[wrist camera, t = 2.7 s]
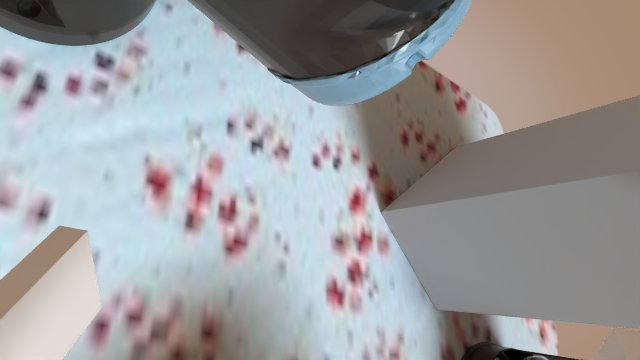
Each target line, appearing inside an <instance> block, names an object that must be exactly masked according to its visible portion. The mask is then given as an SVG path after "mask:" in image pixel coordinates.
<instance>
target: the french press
mask: <svg viewBox="0 0 640 360" xmlns="http://www.w3.org/2000/svg"><path fill="white" fill-rule="evenodd" d="M495 358H497V359H498V360H579V359H572V358H566V357H560V356H554V355H547V354H541V353H535V352H529V351H522V350H517V349H513V348H507V347H501V346H497V345H495V344H493V343H489V342H481V343H478V344H476V345H474V346H472V347H471V348H470V349H469V350H468V351H467V352H466V353H465V355H464V356H463V358H462V360H494V359H495ZM581 360H582V359H581Z"/></svg>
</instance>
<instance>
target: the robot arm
mask: <svg viewBox="0 0 640 360" xmlns="http://www.w3.org/2000/svg"><path fill="white" fill-rule="evenodd" d="M155 1H156V0H0V27H2V28H5V29H7V30H9V31H11V32H13V33H16V34H18V35H21V36H24V37H27V38H30V39H33V40H37V41H41V42H45V43H51V44H57V45H70V46H80V45H92V44H98V43H102V42H106V41H109V40H112V39H115V38H117V37H120V36H122V35H124V34H126V33H127V32H129V31H130V30H132V29H133V28H135V27H136V26H137V25H138V24H139V23H140V22H142V20H143V19H144V18H145V17H146V16H147V15H148V13H149V12H150V10H151V9H152V7H153V5H154V3H155ZM188 1H189V2H190V3H192V4H193V5H194V6H195V7H196V8H197V9H199V10H200V11H201V12H202V13H203V14H205V15H206V16H207V17H208V18H209V19H210V20H212V21H213V22H214V23H215V24H216V25H217V26H219V27H220V28H221V29H222V30H223V31H225V32H226V33H227V34H228V35H229V36H230V37H232V38H233V39H234V40H235V41H236V42H237V43H239V44H240V45H241V46H242V47H243V48H245V49H246V50H247V51H248V52H249V53H250V54H252V55H253V56H254V57H255V58H256V59H258V60H259V61H260V62H261V63H262V64H263V65H265V66H266V67H267V68H268V71H270V72H271V73H272V74H273V75H274V76H275V77H276V78H278V79H280V80H282V81H283V82H286V83H288V84H291V85H293V86H294V87H295V88H297V89H298V90H299V91H301V92H302V93H303V94H305V95H306V96H307V97H309V98H311V99H312V100H314V101H316V102H318V103H321V104H325V105H330V106H344V105H350V104H355V103H358V102H362V101H365V100H368V99H370V98H373V97H375V96H377V95H379V94H381V93H383V92H385V91H387V90H388V89H390V88H392V87H393V86H395V85H396V84H398V83H399V82H401V81H402V80H404V79H405V78H407V77H408V76H409V75H411V73H412V69H413V67H414V66H415V64H416V63H418V62H420V61H422V60H428V59H430V58H431V57H432V56H433V55H434V54H435V53H436V52H437V51H438V50H439V49H440V48H441V47H442V46H443V45H444V44H445V42H446V41H447V40H448V39H449V38H450V37H451V36H452V34H453V33H454V32H455V30H456V29H457V27H458V26H459V24H460V23H461V22H462V20H463V18H464V16H465V14H466V13H467V11H468V8H469V6H470V3H471V0H188ZM101 308H102V305H101V300H100V295H99V289H98V284H97V279H96V274H95V268H94V263H93V258H92V252H91V247H90V242H89V236H88V231H86V230H80V229H75V228H70V227H64V226H59V227H58V228H56V229H55V230H54V231H53V232H52V233H51V234H50V235H49V236H48V237H47V238H46V239H45V240H43V241H42V242H41V243H40V244H39V245H38V246H37V247H36V248H35V249H34V250H33V251H32V252H31V253H29V254H28V255H27V256H26V257H25V258H24V259H23V260H22V261H21V262H20V263H19V264H18V265H16V266H15V267H14V268H13V269H12V270H11V271H10V272H9V273H8V274H7V275H6V276H5V277H3V278H2V279H1V280H0V360H62V359H63V358H64V357H65V355H66V354H67V353H68V352H69V350H70V349H71V348H72V346H73V345H74V344H75V342H76V341H77V340H78V338H79V337H80V336H81V334H82V333H83V332H84V330H85V329H86V328H87V326H88V325H89V324H90V322H91V321H92V320H93V318H94V317H95V316H96V314H97V313H98V312H99V310H100V309H101ZM593 360H640V332H639V331H634V330H628V329H622V328H617V327H612V329H611V330H610V332H609V334H608V335H607V337H606V339H605V340H604V342H603V344H602V345H601V347H600V349H599V351H598V352H597V354H596V355H595V357H594V359H593Z"/></svg>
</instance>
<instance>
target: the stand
mask: <svg viewBox="0 0 640 360" xmlns="http://www.w3.org/2000/svg"><path fill="white" fill-rule="evenodd" d="M381 214H382V215H383V217H384V219H385V221H386V222H387V224H388V226H389V228H390V229H391V231H392V233H393V235H394V236H395V238H396V240H397V242H398V243H399V245H400V247H401V249H402V250H403V252H404V254H405V256H406V258H407V259H408V261H409V263H410V265H411V266H412V268H413V270H414V272H415V273H416V275H417V277H418V279H419V280H420V282H421V284H422V286H423V287H424V289H425V291H426V293H427V294H428V296H429V298H430V300H431V301H432V303H433V305H434V307H435V308H436V310H447V311H458V312H468V313H479V314H489V315H500V316H511V317H521V318H532V319H542V320H553V321H564V322H575V323H585V324H596V325H606V326H618V327H627V328H638V329H640V96H636V97H632V98H629V99H625V100H622V101H618V102H615V103H611V104H608V105H604V106H601V107H597V108H593V109H590V110H586V111H583V112H579V113H576V114H572V115H569V116H565V117H562V118H558V119H554V120H551V121H547V122H544V123H540V124H537V125H533V126H530V127H526V128H523V129H519V130H516V131H512V132H509V133H505V134H501V135H498V136H494V137H491V138H487V139H484V140H480V141H477V142H473V143H469V144H466V145H462V146H459V147H455V148H454V149H453V150H452V151H451V152H450V153H448V154H447V155H446V156H445V157H444V158H443V159H441V160H440V161H439V162H438V163H437V164H436V165H435V166H433V167H432V168H431V169H430V170H429V171H428V172H426V173H425V174H424V175H423V176H422V177H421V178H420V179H418V180H417V181H416V182H415V183H414V184H413V185H411V186H410V187H409V188H408V189H407V190H406V191H405V192H403V193H402V194H401V195H400V196H399V197H398V198H397V199H395V200H394V201H393V202H392V203H391V204H390V205H388V206H387V207H386V208H385V209H384V210H383V211H382V212H381Z"/></svg>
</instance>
